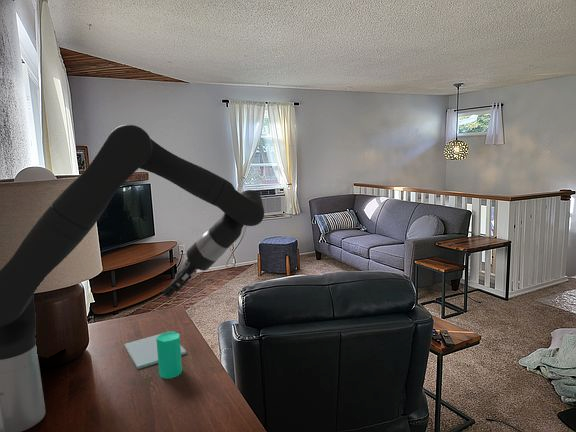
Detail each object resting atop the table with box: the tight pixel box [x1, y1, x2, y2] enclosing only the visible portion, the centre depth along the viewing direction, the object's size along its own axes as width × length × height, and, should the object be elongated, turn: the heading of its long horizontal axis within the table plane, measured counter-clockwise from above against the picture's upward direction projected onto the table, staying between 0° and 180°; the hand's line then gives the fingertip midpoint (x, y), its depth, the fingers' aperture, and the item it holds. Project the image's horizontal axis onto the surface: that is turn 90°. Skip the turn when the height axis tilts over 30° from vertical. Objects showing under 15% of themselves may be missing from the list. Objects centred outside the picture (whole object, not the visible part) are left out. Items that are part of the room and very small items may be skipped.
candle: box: [156, 330, 183, 380], centre depth 103 cm, size 6×6×12 cm
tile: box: [124, 333, 188, 370], centre depth 116 cm, size 16×14×1 cm
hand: (170, 286), depth 107 cm, fingers open, 8 cm apart
